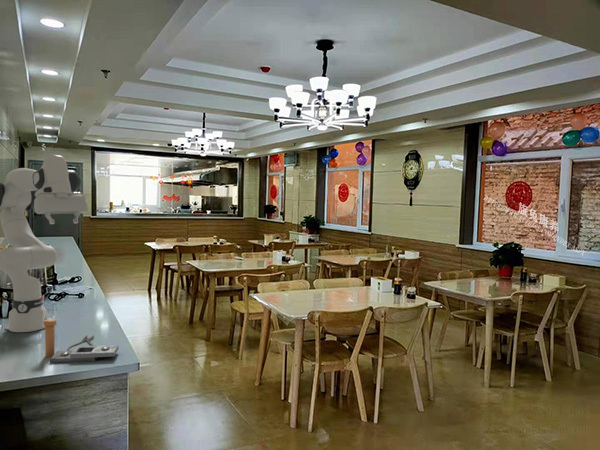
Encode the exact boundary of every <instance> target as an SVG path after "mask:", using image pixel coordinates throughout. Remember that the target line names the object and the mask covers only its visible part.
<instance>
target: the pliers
mask: <svg viewBox="0 0 600 450" xmlns="http://www.w3.org/2000/svg"><path fill="white" fill-rule="evenodd" d="M94 339H95V335H92V336H90V337H89V338H88V335H86V336H84V337H83V338H82V340H81V341H80V342H78V343H76V344H72V345H70V346H69V347H68V348H67V349H66V351H70V349H71V348H73V347H77V346H79V345H82V344H84V343H87V344H88V346H94V344H92V343H91V341H93V340H94Z"/></svg>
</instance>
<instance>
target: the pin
mask: <svg viewBox="0 0 600 450" xmlns="http://www.w3.org/2000/svg"><path fill="white" fill-rule="evenodd" d="M55 325H57V319H53V318H52V319H50V320H45V321H44V326H45V330H44V332H45V333H44V337H45V340H44V341H45V342H44V343H45V344H44V345H45V346H44V351H45V352H44V353H45V354H44V357H45V358H51V357H52V356H53V355H54V354H55V353H56V352H55V351H56V349H55V346H56V345H55V339H56V338H55V331H56V329H55Z"/></svg>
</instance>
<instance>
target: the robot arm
mask: <svg viewBox="0 0 600 450" xmlns="http://www.w3.org/2000/svg"><path fill="white" fill-rule="evenodd" d="M80 186H81V178H80V175H79V174H78V173H77V172H76V171H75V170H74V169H68V163H67V161H66V159H65V157H64V156H62V155H58V154H47V155H45V156H44V157H43V164H42V165H41V167H40V168H38V169H37V170H36V169H33V168H26V167H20V168H14V169H12V170H11V171H9V172H8V173H7V174H6V176H5V182H0V208H4V209H2V210H1V211H0V225H1V230H2V232H3V235H4V238H5V241H6V243H7V244H8V245H9V246H11V247H5V248H1V249H0V271H2V272H4V273H5V274H6V275H7V276H8V277H9V279H10V281H11V283H12V289H13V290H12V291H13V299H12V302H11V305H12V309H11V310H10V311H9V312H8V322H7V323H8V324H7V325H6V326H5V327H4V330H7V331H10V332H13V333H29V332H35V331H39V330H44V329H45V326H44V321H45V320H50V319H53V318H52V317H48V309H47V308H46V307H45V306H44V305H43V304H44V303H43V300H44V296H43V295H42V283H41V281H40V280H39V278H36V277H34V276H31V275H29V272H28V271H29V270H37V269H46V268H48V267H52V266H54V265H55V264H56V262H57V260H58V253H57V250H56V248H54V247H53V246H51V245H48V244H46V243H45V242H43V241H41V240H40V239H38V238H37V237H36V236H35V234H34V233H33V230H32V228H31V227H30V224H29V222H28V219H27V217H26V215H25V213H26V212H31V210H32V209H33V210H34V212H35V213H36V214H37V215H40V214H41V215H44V216H45V218H46V219H47V221H48V222H49V225H54V224H56V222H55V218H52V216H51V215H57V214H59V215H60V214H65V215H66V214H69V215H70V214H71V215H72V214H74V218H73V219H72V222H73V223H72V224H79V218H80V215H81V214H85V213H86V212H88V210H89V208H88V207H89V206H88V203H87V200H86V194H84V193H82V192H80V191H78V192H77V190H78V189H79V188H80ZM25 211H26V212H25Z"/></svg>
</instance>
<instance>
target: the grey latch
mask: <svg viewBox="0 0 600 450" xmlns="http://www.w3.org/2000/svg"><path fill="white" fill-rule="evenodd" d="M118 351H119V345H118V344H115V345H113V344H112V345H111V344H110V345H93V346H90V345H84V346H83V345H82V346H79V345H77V346H75V348H74V349H73V350H69V351H67V350H57V351H56V352H55V354H54V355H53V356H52V357H49V358H50V359H49V364H61V363H63V364H64V363H85V362H95V361H96V360H97V359H98V358H107V357H108V358H110V357H115V356H116V354H117V352H118Z"/></svg>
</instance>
